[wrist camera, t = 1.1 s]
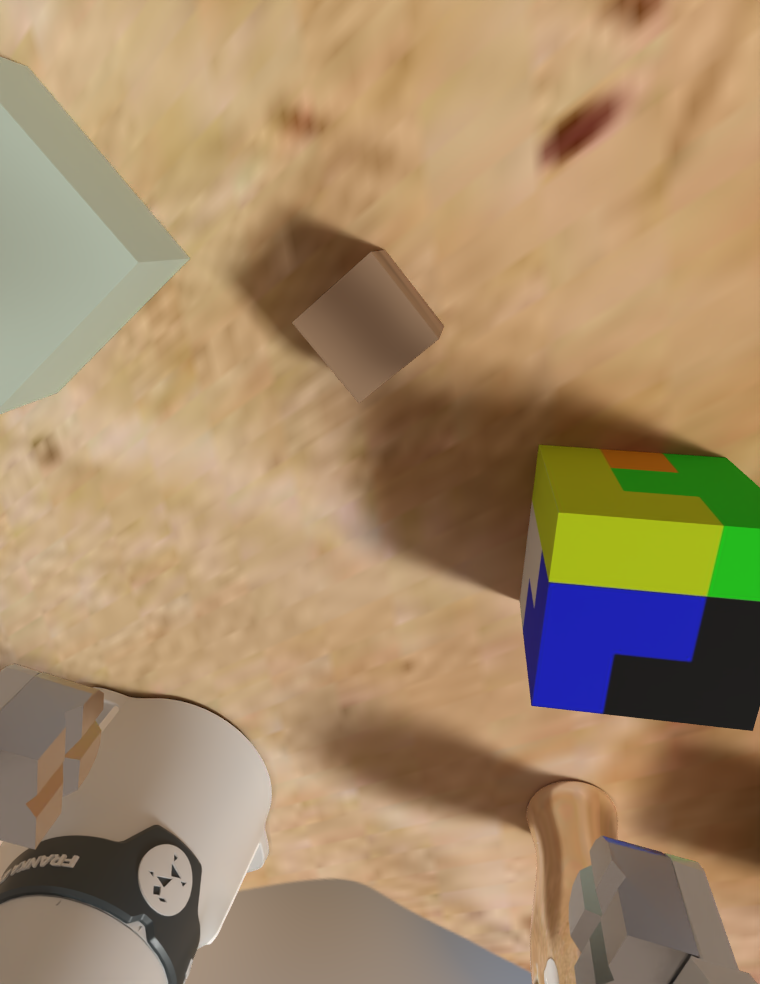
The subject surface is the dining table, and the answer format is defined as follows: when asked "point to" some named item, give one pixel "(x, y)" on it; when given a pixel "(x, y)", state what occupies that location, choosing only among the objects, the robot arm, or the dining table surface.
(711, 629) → the puzzle toy
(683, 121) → the dining table surface
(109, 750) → the robot arm
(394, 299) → the walnut cube
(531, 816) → the beer glass
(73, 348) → the block
